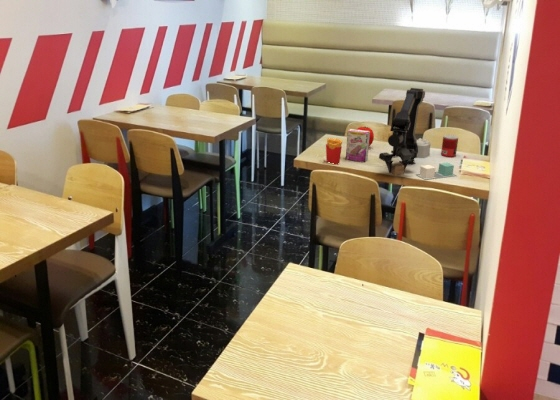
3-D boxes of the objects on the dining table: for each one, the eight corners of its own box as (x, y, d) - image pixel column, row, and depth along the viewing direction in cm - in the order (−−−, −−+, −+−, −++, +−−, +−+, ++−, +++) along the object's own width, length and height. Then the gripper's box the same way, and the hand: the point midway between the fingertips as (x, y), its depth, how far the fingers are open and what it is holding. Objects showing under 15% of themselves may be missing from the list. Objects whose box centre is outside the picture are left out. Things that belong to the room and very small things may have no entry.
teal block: (446, 172, 271) (447, 162, 269) (452, 175, 267) (453, 165, 265) (438, 173, 269) (439, 163, 267) (444, 176, 265) (445, 166, 263)
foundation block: (419, 175, 266) (420, 165, 264) (428, 174, 267) (429, 164, 265) (425, 178, 261) (426, 168, 259) (434, 177, 263) (435, 167, 261)
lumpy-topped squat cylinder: (406, 155, 299) (408, 140, 296) (414, 150, 309) (415, 135, 306) (424, 158, 294) (426, 143, 291) (432, 153, 304) (433, 138, 301)
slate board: (414, 175, 267) (414, 174, 267) (446, 171, 273) (446, 170, 273) (425, 181, 259) (425, 180, 259) (457, 177, 266) (457, 176, 265)
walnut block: (389, 173, 271) (390, 163, 269) (398, 172, 273) (398, 162, 271) (394, 176, 267) (395, 166, 265) (403, 175, 268) (404, 165, 266)
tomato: (350, 146, 315) (351, 125, 310) (365, 144, 320) (367, 123, 315) (360, 151, 306) (362, 129, 301) (376, 149, 310) (378, 127, 305)
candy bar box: (345, 160, 290) (347, 130, 284) (348, 157, 295) (349, 128, 289) (365, 162, 286) (367, 132, 280) (368, 160, 290) (370, 130, 284)
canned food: (456, 157, 296) (459, 138, 292) (441, 157, 297) (443, 137, 293) (455, 154, 303) (457, 135, 299) (440, 153, 304) (442, 134, 300)
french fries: (324, 161, 287) (324, 138, 282) (328, 160, 290) (329, 136, 285) (338, 165, 281) (339, 141, 277) (342, 163, 284) (344, 139, 280)
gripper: (391, 147, 253) (389, 178, 259) (425, 144, 259) (421, 174, 265) (379, 141, 263) (377, 172, 269) (412, 138, 269) (409, 168, 275)
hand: (396, 171), depth 269 cm, fingers open, 7 cm apart
